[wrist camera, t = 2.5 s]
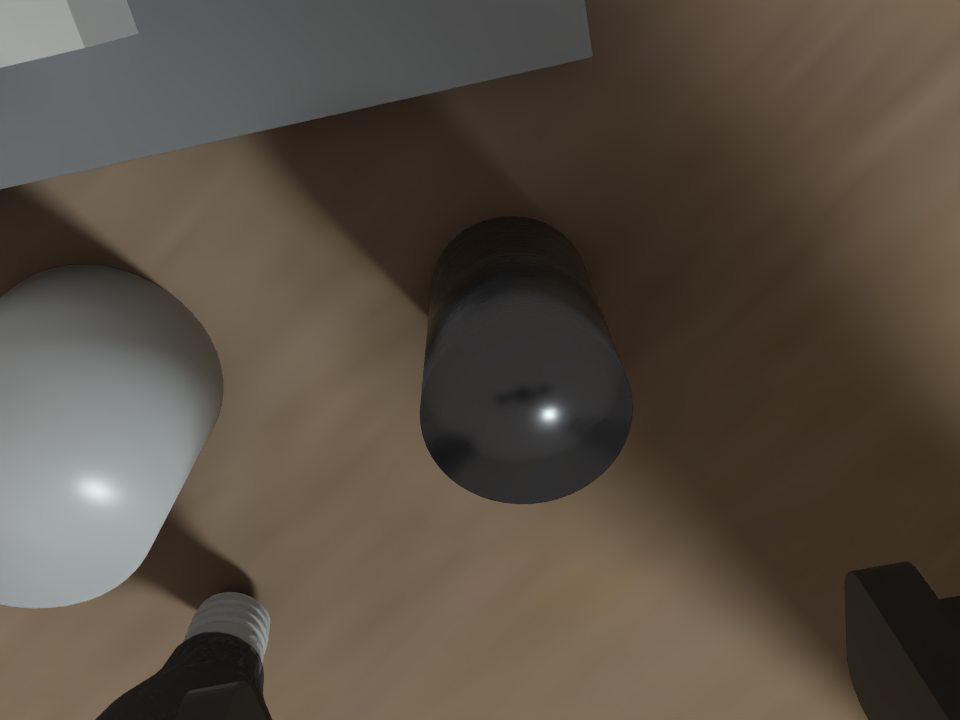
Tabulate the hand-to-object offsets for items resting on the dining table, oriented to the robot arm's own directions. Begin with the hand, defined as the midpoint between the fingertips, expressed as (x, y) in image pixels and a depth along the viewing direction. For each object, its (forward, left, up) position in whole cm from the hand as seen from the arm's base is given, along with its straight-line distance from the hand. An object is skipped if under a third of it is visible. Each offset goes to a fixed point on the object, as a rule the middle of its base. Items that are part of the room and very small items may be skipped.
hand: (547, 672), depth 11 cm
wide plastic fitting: (+12, 0, -14) cm, 18 cm away
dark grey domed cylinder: (0, 0, -14) cm, 14 cm away
